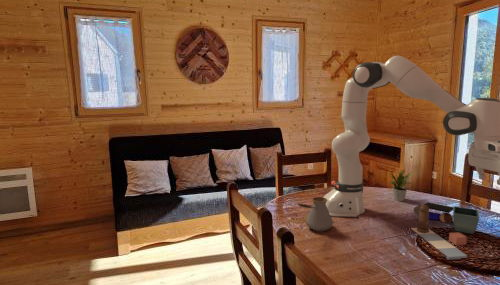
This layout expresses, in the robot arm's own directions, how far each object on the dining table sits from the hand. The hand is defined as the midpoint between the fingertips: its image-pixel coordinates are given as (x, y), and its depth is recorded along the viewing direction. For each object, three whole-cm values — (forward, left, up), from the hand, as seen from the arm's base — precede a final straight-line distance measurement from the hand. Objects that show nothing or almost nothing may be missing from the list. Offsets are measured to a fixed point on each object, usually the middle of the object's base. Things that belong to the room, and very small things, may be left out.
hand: (491, 182), depth 119 cm
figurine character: (-3, +27, -26) cm, 38 cm away
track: (-15, +6, -25) cm, 30 cm away
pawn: (-15, +15, -25) cm, 32 cm away
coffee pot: (-59, +22, -26) cm, 68 cm away
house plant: (-4, +53, -26) cm, 59 cm away
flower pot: (+2, +14, -26) cm, 29 cm away
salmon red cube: (-8, +4, -26) cm, 27 cm away
